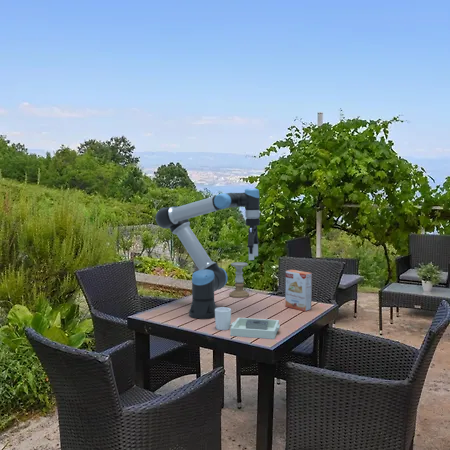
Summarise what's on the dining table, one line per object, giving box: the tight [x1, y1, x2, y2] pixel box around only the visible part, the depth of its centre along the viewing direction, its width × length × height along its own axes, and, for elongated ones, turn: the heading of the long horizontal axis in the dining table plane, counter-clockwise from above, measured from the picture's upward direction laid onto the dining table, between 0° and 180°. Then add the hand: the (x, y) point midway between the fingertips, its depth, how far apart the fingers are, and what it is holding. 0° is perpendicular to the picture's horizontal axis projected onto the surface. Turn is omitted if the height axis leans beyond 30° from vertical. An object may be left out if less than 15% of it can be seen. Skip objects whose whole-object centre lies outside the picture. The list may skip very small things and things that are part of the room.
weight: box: [246, 320, 268, 330], centre depth 223 cm, size 10×4×4 cm, turn 77°
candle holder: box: [229, 261, 250, 299], centre depth 291 cm, size 12×12×20 cm
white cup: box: [214, 306, 232, 331], centre depth 224 cm, size 8×8×10 cm
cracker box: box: [284, 269, 313, 312], centre depth 260 cm, size 14×6×21 cm, turn 45°
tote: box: [229, 317, 281, 340], centre depth 218 cm, size 22×17×4 cm
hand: (253, 257), depth 249 cm, fingers open, 13 cm apart
